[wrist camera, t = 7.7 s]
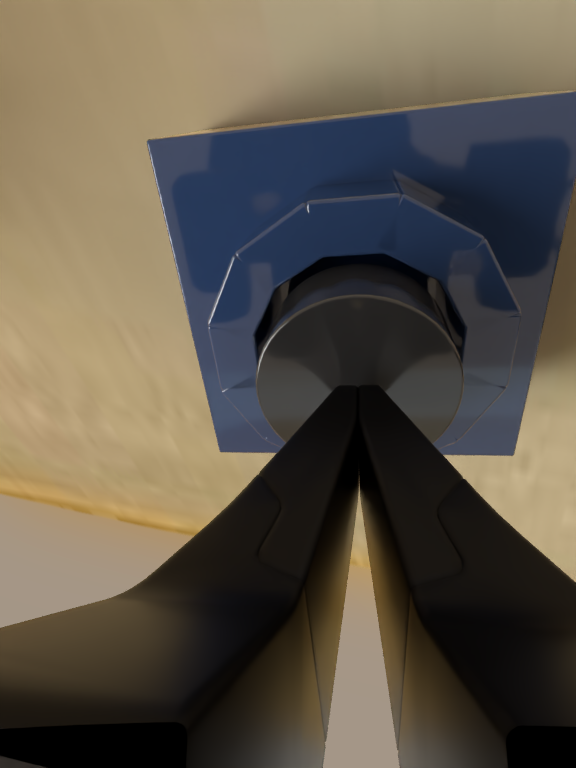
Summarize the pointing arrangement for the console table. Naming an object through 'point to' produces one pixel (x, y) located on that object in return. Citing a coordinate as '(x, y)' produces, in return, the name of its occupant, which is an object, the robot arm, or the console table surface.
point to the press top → (360, 348)
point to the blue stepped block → (375, 238)
